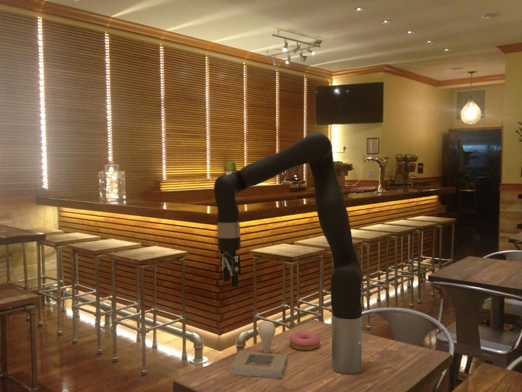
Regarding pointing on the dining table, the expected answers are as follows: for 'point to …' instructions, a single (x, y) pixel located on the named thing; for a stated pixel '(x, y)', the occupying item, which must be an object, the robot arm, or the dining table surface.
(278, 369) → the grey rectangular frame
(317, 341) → the doughnut
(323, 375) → the dining table surface
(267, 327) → the lightbulb
